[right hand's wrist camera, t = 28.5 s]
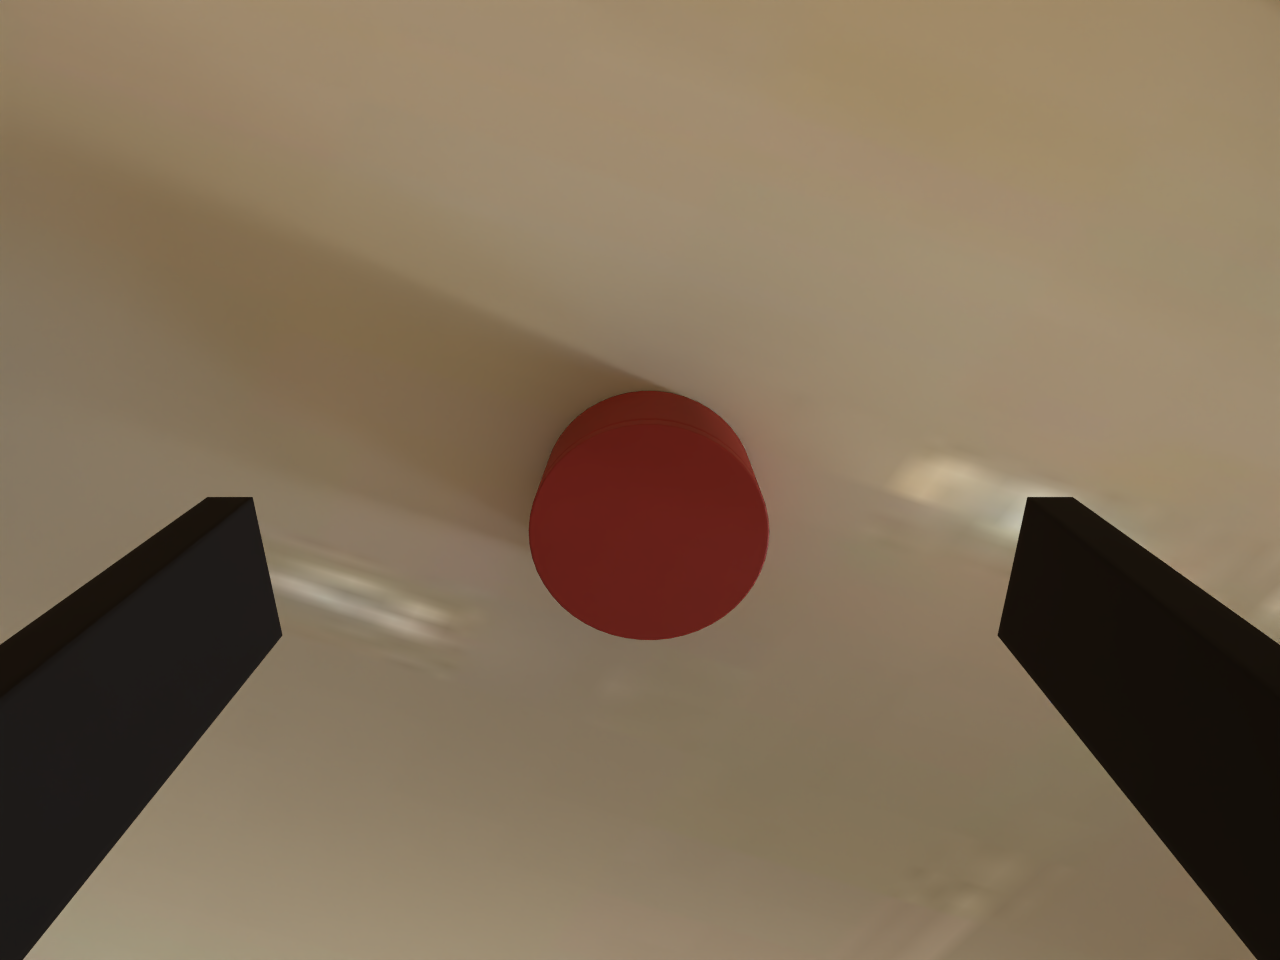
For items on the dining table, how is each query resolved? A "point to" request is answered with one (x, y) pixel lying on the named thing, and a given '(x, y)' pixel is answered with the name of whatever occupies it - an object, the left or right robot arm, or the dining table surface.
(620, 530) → the cap
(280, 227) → the dining table surface
